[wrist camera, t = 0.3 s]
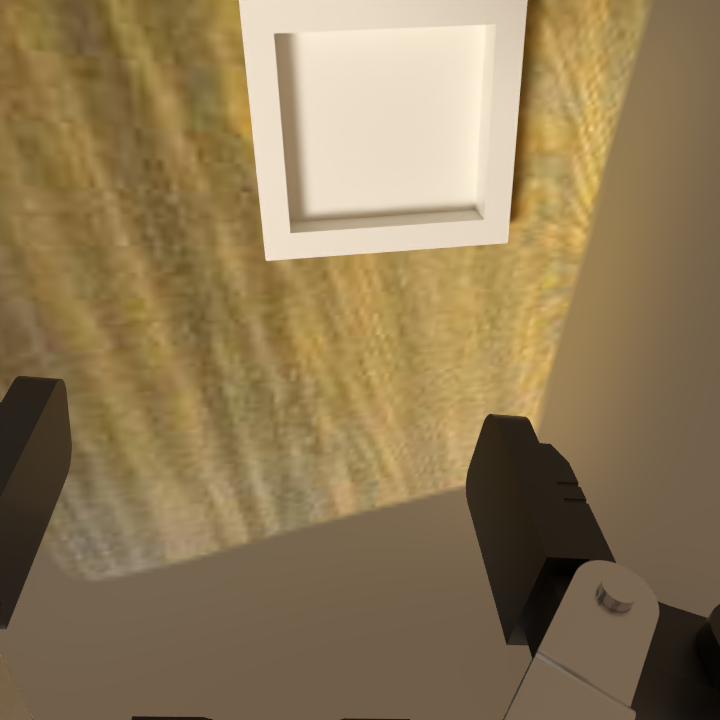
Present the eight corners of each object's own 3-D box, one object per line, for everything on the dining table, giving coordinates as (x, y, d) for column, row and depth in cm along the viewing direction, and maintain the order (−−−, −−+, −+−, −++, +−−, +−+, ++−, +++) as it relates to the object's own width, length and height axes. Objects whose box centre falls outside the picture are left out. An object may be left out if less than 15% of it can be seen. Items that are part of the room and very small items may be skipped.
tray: (240, -3, 34) (238, -1, 32) (512, -13, 36) (528, -12, 33) (265, 245, 41) (265, 260, 38) (494, 228, 42) (507, 242, 40)
